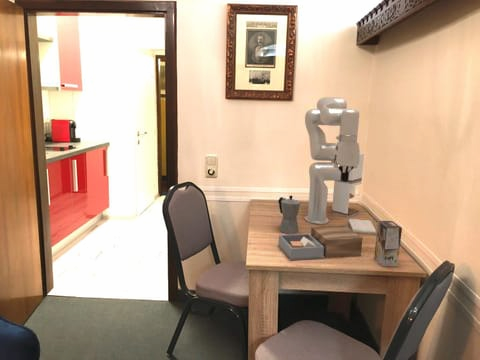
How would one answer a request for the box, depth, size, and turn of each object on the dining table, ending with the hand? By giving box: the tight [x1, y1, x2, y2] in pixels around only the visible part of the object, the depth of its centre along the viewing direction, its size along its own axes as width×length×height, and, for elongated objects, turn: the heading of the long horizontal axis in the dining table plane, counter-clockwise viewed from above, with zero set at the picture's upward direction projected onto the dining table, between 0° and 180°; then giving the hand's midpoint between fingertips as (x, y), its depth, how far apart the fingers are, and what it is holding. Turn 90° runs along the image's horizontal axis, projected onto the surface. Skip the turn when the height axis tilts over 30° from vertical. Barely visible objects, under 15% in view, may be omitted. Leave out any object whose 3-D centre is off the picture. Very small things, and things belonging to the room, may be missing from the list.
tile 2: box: [300, 237, 316, 247], centre depth 163 cm, size 5×5×2 cm
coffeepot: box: [278, 195, 301, 235], centre depth 189 cm, size 15×9×18 cm, turn 33°
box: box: [277, 233, 324, 262], centre depth 163 cm, size 16×14×5 cm
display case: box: [331, 153, 365, 219], centre depth 218 cm, size 11×11×35 cm
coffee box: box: [373, 220, 403, 267], centre depth 155 cm, size 9×6×16 cm
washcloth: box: [348, 218, 377, 235], centre depth 197 cm, size 12×18×3 cm, turn 172°
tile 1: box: [290, 241, 304, 248], centre depth 165 cm, size 5×5×2 cm
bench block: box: [310, 225, 363, 259], centre depth 167 cm, size 16×16×8 cm
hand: (344, 181), depth 168 cm, fingers closed
